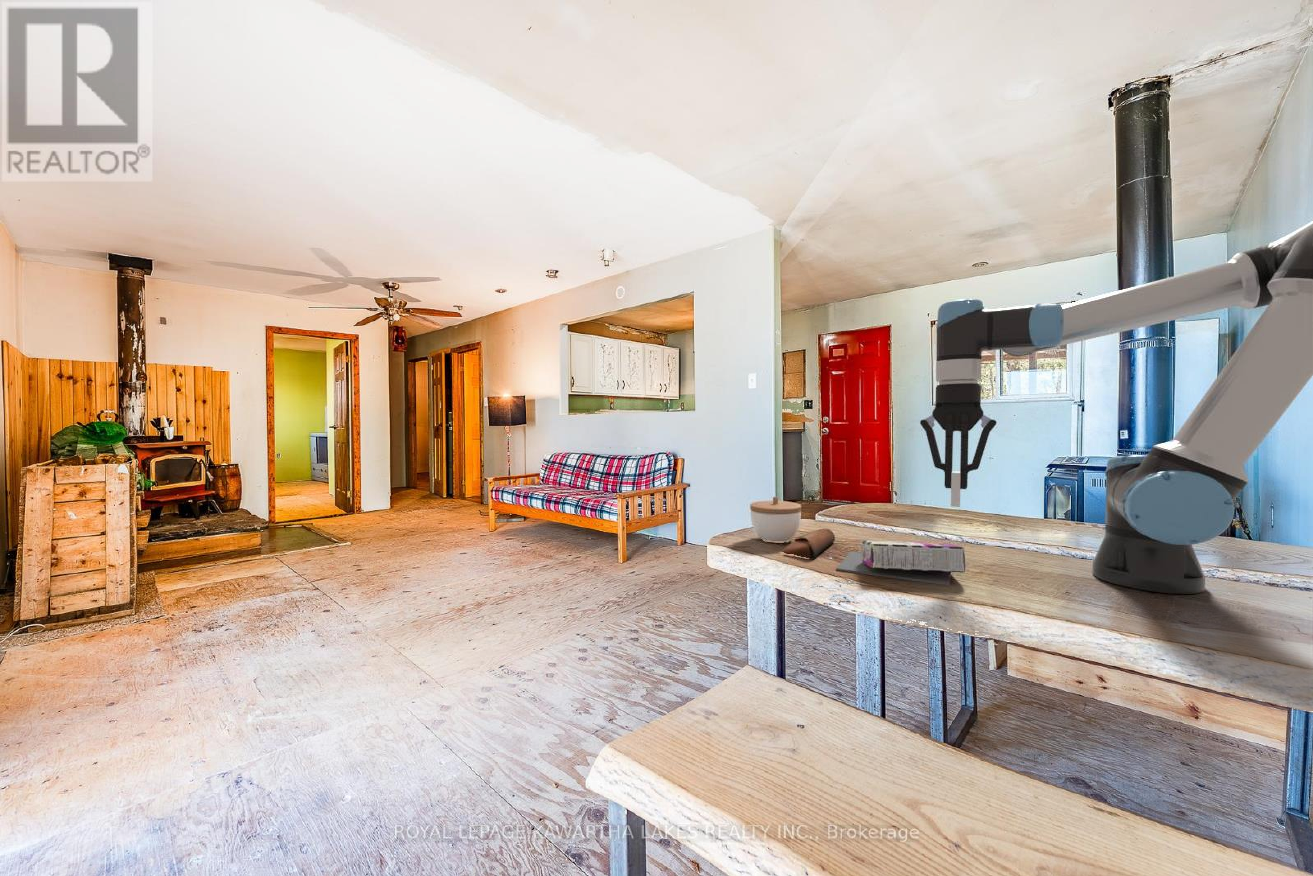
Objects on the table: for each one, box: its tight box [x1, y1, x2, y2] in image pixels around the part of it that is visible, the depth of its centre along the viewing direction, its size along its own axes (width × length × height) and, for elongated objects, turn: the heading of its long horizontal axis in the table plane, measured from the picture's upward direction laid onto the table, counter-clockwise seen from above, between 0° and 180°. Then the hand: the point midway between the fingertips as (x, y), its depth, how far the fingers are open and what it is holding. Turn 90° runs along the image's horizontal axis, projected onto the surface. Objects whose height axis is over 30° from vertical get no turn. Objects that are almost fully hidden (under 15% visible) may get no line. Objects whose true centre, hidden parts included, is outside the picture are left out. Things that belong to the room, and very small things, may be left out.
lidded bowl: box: [749, 496, 802, 541], centre depth 132 cm, size 13×13×11 cm
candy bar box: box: [861, 539, 966, 573], centre depth 103 cm, size 11×5×16 cm
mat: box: [835, 551, 952, 587], centre depth 107 cm, size 20×15×1 cm
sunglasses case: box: [781, 528, 836, 560], centre depth 123 cm, size 18×7×7 cm
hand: (955, 505), depth 101 cm, fingers closed
